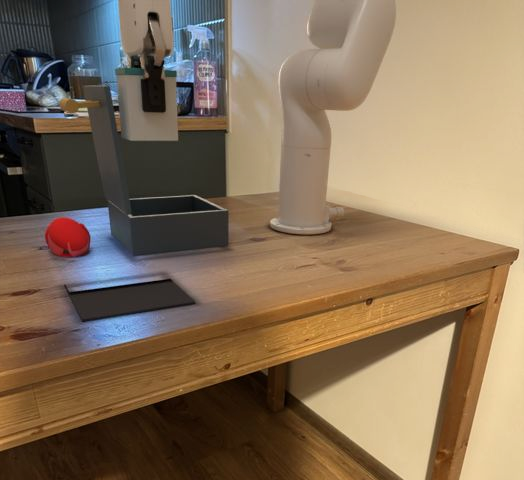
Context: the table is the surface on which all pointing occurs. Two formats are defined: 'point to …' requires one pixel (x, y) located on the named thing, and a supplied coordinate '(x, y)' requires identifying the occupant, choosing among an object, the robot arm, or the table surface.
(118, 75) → the container
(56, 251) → the cap
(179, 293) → the mat
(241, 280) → the table surface
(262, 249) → the table surface
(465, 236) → the table surface
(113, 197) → the lid
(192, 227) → the chest
